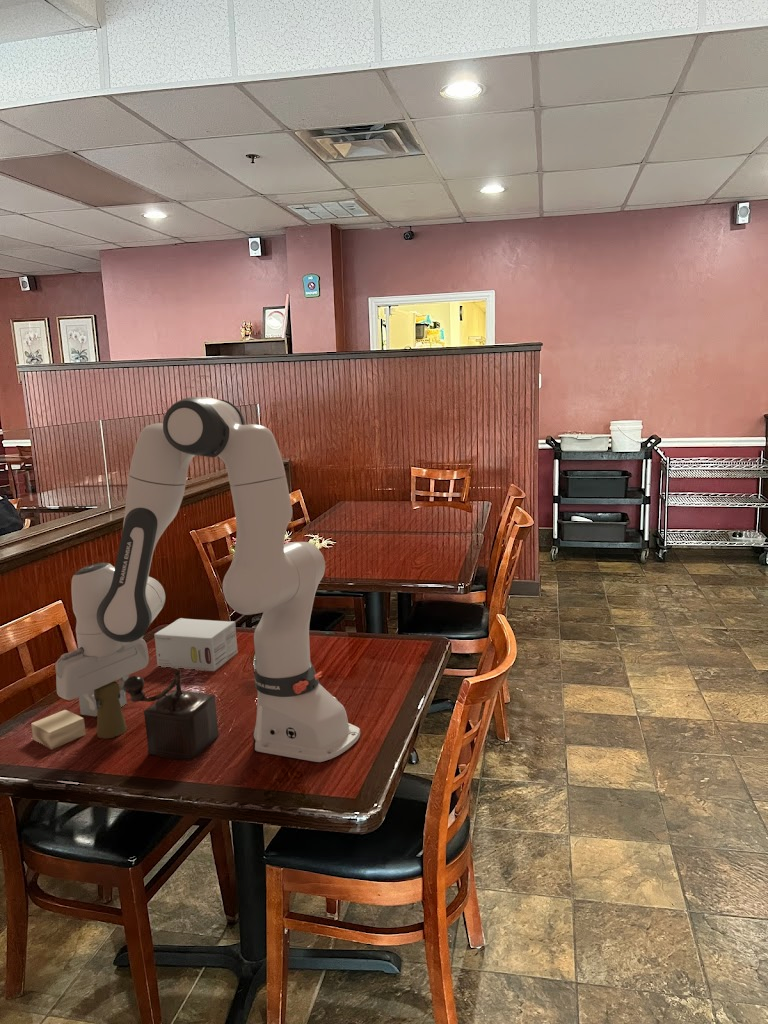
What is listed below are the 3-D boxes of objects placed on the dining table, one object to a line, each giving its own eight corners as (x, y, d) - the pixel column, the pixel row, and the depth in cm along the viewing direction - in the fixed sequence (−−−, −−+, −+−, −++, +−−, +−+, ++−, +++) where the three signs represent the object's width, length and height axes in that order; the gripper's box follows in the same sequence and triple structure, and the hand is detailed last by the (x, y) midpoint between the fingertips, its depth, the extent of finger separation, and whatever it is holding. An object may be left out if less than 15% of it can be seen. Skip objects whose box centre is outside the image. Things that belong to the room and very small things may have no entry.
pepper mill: (174, 729, 153) (165, 649, 149) (220, 735, 149) (212, 653, 146) (127, 768, 138) (117, 680, 135) (177, 775, 135) (167, 685, 131)
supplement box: (156, 668, 187) (152, 633, 185) (183, 649, 200) (180, 617, 198) (214, 672, 183) (211, 637, 181) (238, 652, 195) (235, 620, 193)
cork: (131, 724, 156) (125, 677, 154) (118, 738, 150) (112, 689, 148) (105, 724, 156) (99, 677, 154) (91, 738, 151) (84, 689, 148)
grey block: (126, 704, 166) (124, 684, 165) (106, 718, 160) (103, 697, 159) (102, 701, 168) (99, 681, 168) (80, 715, 162) (78, 694, 161)
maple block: (86, 735, 152) (83, 718, 152) (51, 750, 147) (49, 732, 146) (67, 726, 157) (65, 709, 156) (33, 740, 151) (31, 723, 150)
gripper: (63, 660, 139) (72, 726, 142) (149, 627, 156) (156, 687, 158) (45, 655, 143) (54, 719, 145) (131, 623, 159) (137, 681, 162)
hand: (108, 702), depth 152 cm, fingers closed on cork, 5 cm apart
